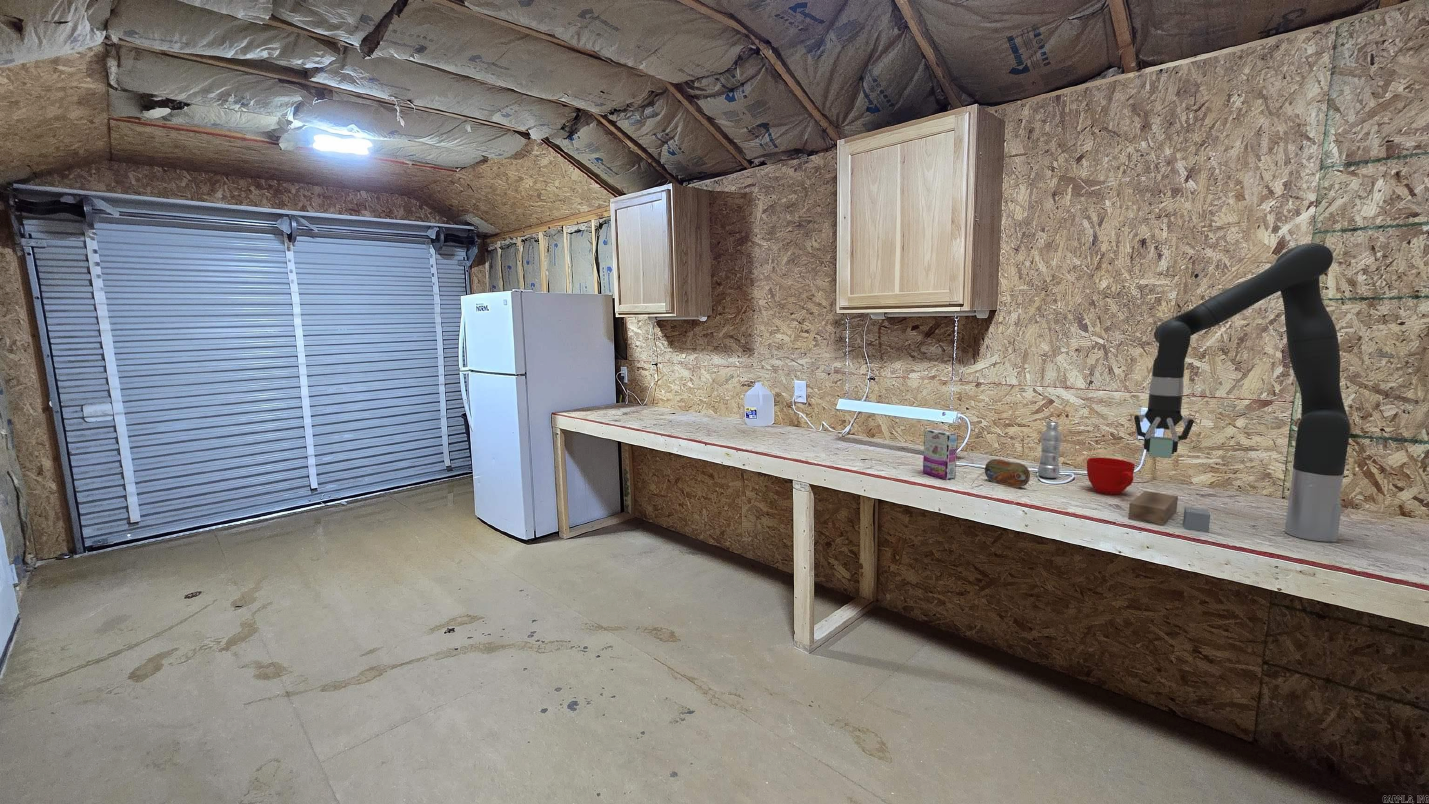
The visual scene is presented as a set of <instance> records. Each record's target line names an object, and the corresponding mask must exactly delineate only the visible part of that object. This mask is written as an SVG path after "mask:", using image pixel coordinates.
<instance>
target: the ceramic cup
mask: <svg viewBox="0 0 1429 804" xmlns="http://www.w3.org/2000/svg"><path fill="white" fill-rule="evenodd" d="M1135 466H1136V465H1135V463H1133V462H1131V461H1128V460H1124V459H1118V458H1111V457H1091V458H1087V459H1086V473H1087V478H1088V481H1089V483H1090V485H1091V486H1092V487H1093V489H1094V490H1095V491H1096V492H1097V493H1100V494H1104V495H1110V496H1111V495H1112V496H1113V495H1114V496H1116V495H1120V494H1121V493H1123V492H1124V491H1125V490H1126V489H1127V488H1128V487H1130V486H1131V485H1132V484H1133V482H1134V472H1135V469H1136V468H1135Z"/></svg>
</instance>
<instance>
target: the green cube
mask: <svg viewBox="0 0 1429 804" xmlns="http://www.w3.org/2000/svg"><path fill="white" fill-rule="evenodd" d="M1172 446H1173V438H1172V437H1165V436H1153V435H1151V436H1150V449H1149V452H1147V454H1148V456H1149V457H1152V458H1153V457H1154V458H1162V459H1172V455H1173V454H1172Z"/></svg>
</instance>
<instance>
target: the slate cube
mask: <svg viewBox="0 0 1429 804" xmlns="http://www.w3.org/2000/svg"><path fill="white" fill-rule="evenodd" d="M1183 509H1184V510H1183V518H1182V519H1183V520H1182V526H1183V528H1184V530H1188V531H1193V532H1200V533H1201V532H1202V533H1209V531H1210V530H1209V529H1210V523H1211V522H1210V521H1211V513H1210V510H1209V509H1204V508H1197V507H1196V508H1195V507H1192V506H1184V508H1183Z"/></svg>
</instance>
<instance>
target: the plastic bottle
mask: <svg viewBox="0 0 1429 804" xmlns="http://www.w3.org/2000/svg"><path fill="white" fill-rule="evenodd" d="M1059 424H1060V423H1059V422H1057V421H1050V420H1049V421H1046V425H1045V428H1046V429H1045V430H1044V431H1043V432H1042V433H1041V435H1040V440H1041V441H1040V442H1041V452H1040V454H1041V455H1040V459H1039V464H1038V467H1037V474H1038V475H1039V476H1040V477H1043V478H1045V479H1056V478H1058V476H1059V475H1060V466H1059V463H1060V462H1059V459H1060V458H1059V456H1060V451H1061V450H1060V449H1061V445H1062V441H1063V435H1062V433H1061V432H1060V430H1059Z"/></svg>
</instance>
